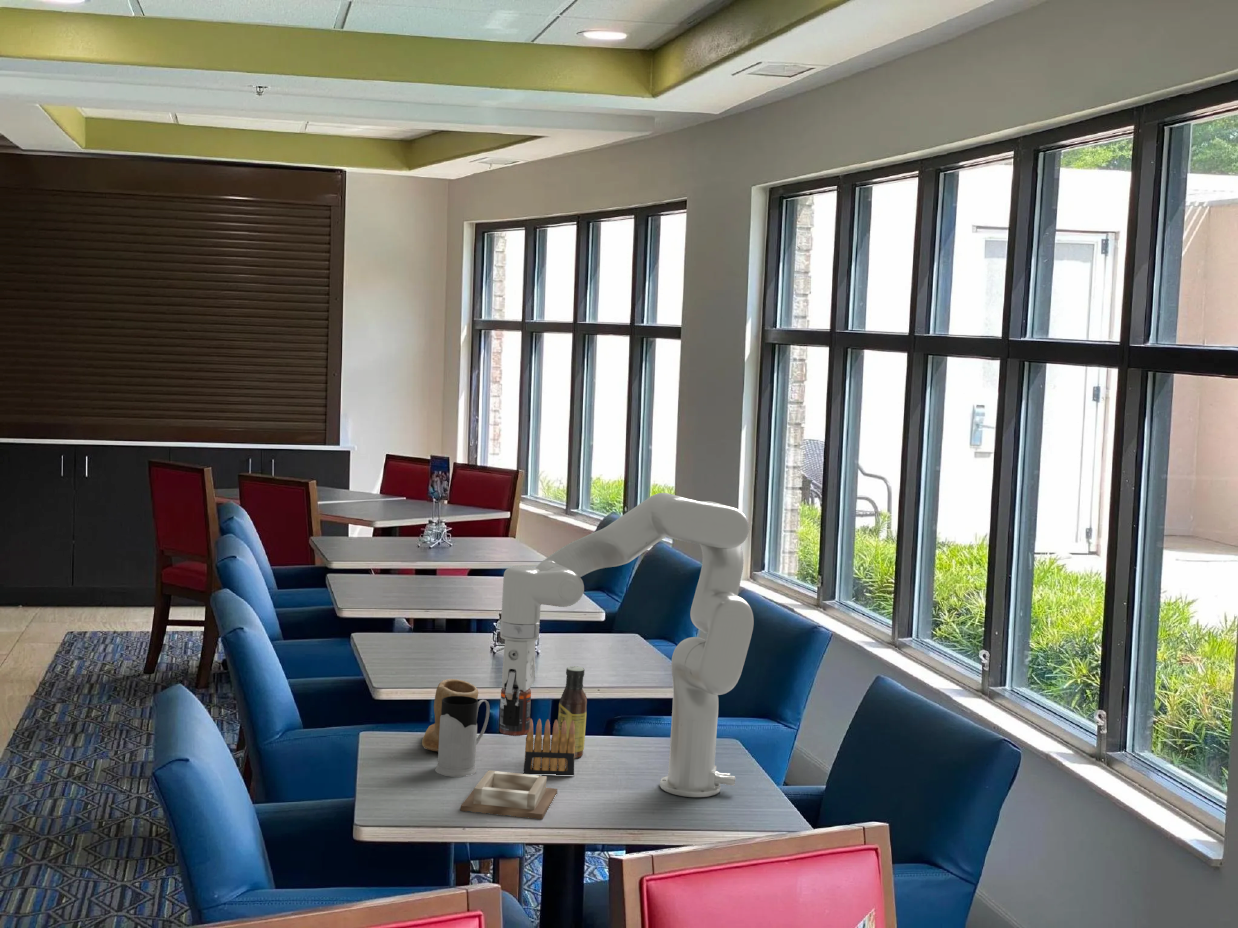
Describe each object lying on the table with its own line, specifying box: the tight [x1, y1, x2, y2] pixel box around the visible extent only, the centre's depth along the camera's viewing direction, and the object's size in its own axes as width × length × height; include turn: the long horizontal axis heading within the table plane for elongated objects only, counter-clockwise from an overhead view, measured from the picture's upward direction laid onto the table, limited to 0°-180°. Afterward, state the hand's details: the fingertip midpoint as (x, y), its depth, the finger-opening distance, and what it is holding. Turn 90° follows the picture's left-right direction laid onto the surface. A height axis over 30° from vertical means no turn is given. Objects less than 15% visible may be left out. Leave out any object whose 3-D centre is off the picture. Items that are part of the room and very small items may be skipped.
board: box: [460, 770, 558, 820], centre depth 264 cm, size 16×16×4 cm
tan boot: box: [421, 678, 479, 752], centre depth 299 cm, size 15×12×15 cm
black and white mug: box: [435, 696, 491, 778], centre depth 284 cm, size 9×14×15 cm, turn 146°
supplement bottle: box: [498, 682, 532, 737], centre depth 263 cm, size 6×6×11 cm
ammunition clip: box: [523, 718, 575, 776], centre depth 283 cm, size 11×2×12 cm, turn 94°
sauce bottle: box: [557, 665, 588, 759], centre depth 297 cm, size 7×6×20 cm
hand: (514, 719), depth 263 cm, fingers closed on supplement bottle, 6 cm apart
